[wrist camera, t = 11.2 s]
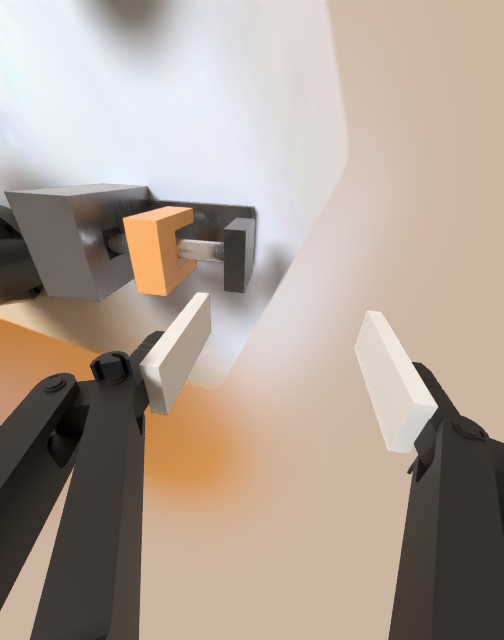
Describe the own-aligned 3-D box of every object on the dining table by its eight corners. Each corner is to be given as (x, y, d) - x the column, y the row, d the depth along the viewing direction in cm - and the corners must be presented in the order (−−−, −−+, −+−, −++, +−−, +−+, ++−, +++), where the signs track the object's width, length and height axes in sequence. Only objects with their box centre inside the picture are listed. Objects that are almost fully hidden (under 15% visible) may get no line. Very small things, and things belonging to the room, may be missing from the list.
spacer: (174, 264, 33) (137, 292, 25) (167, 206, 29) (122, 218, 21) (196, 266, 32) (166, 296, 25) (192, 207, 29) (156, 220, 21)
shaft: (134, 260, 32) (104, 278, 27) (124, 209, 29) (87, 218, 23) (252, 272, 30) (243, 293, 25) (255, 219, 27) (246, 230, 22)
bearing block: (121, 257, 38) (47, 295, 27) (104, 183, 33) (4, 191, 22) (250, 270, 36) (230, 316, 25) (254, 193, 31) (230, 207, 20)
